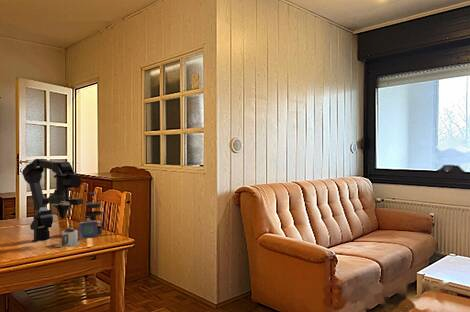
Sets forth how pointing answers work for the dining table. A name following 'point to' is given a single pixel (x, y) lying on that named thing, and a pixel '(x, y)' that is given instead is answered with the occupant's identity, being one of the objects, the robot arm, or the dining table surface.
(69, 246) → the coaster
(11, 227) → the dining table surface
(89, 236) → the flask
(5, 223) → the dining table surface
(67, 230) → the plunger
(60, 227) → the dining table surface
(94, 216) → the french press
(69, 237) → the grey boxy piece
